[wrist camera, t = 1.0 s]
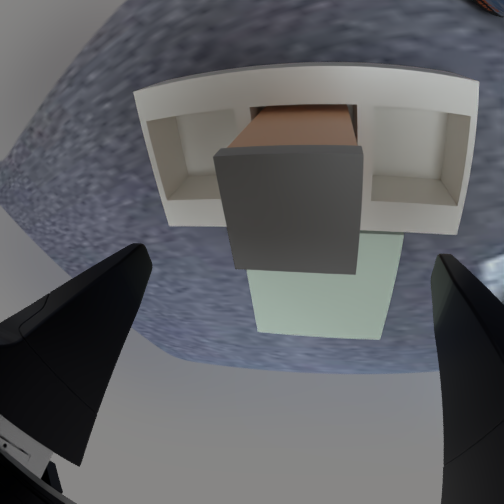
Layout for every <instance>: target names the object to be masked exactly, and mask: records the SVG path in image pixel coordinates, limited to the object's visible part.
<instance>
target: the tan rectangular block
mask: <svg viewBox="0 0 504 504" xmlns="http://www.w3.org/2000/svg"><path fill="white" fill-rule="evenodd" d="M213 160H214V166H215V171H216V176H217V181H218V186H219V191H220V196H221V201H222V206H223V211H224V216H225V221H226V226H227V231H228V236H229V241H230V246H231V250H232V255H233V260H234V265H235V269H246V270H264V271H283V272H303V273H324V274H347V275H356V268H357V258H358V248H359V236H360V224H361V209H362V190H363V160H364V154H363V150H362V146H357V142H356V137H355V133H354V129H353V126H352V122H351V118H350V114H349V111H348V107H347V104H297V105H274V106H266V107H265V108H264V109H263V110H262V111H261V112H260V113H259V114H258V115H257V116H256V117H255V118H254V119H253V120H252V121H251V122H250V123H249V124H248V125H247V127H246V128H245V129H244V130H243V131H242V132H241V133H240V134H239V135H238V136H237V137H236V138H235V139H234V140H233V142H232V143H231V144H230V145H229V146H228V147H227V148H221V149H220V150H219V151H218V152H217V153H216V154H215V155H214V156H213Z"/></svg>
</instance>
